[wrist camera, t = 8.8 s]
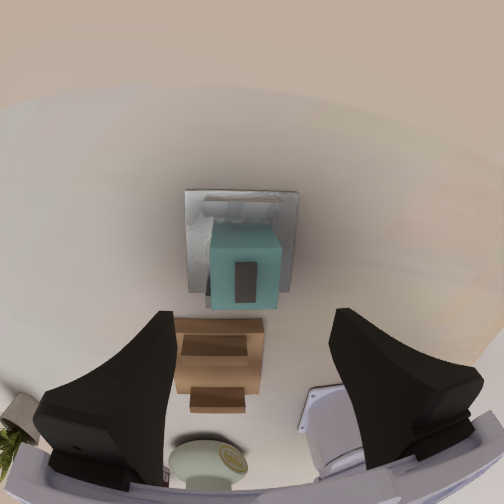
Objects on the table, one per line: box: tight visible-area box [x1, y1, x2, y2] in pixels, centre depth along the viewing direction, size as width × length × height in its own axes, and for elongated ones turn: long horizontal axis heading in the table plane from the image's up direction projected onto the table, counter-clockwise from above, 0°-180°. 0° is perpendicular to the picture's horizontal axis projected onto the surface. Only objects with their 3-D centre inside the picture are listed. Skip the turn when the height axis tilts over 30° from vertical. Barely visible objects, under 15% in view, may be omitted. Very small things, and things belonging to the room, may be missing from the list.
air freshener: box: [169, 440, 248, 491], centre depth 28 cm, size 11×8×10 cm
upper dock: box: [174, 318, 264, 413], centre depth 23 cm, size 8×8×4 cm
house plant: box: [0, 393, 40, 482], centre depth 21 cm, size 14×14×16 cm
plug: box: [210, 222, 282, 310], centre depth 19 cm, size 4×4×6 cm
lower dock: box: [185, 189, 299, 308], centre depth 20 cm, size 8×8×3 cm
